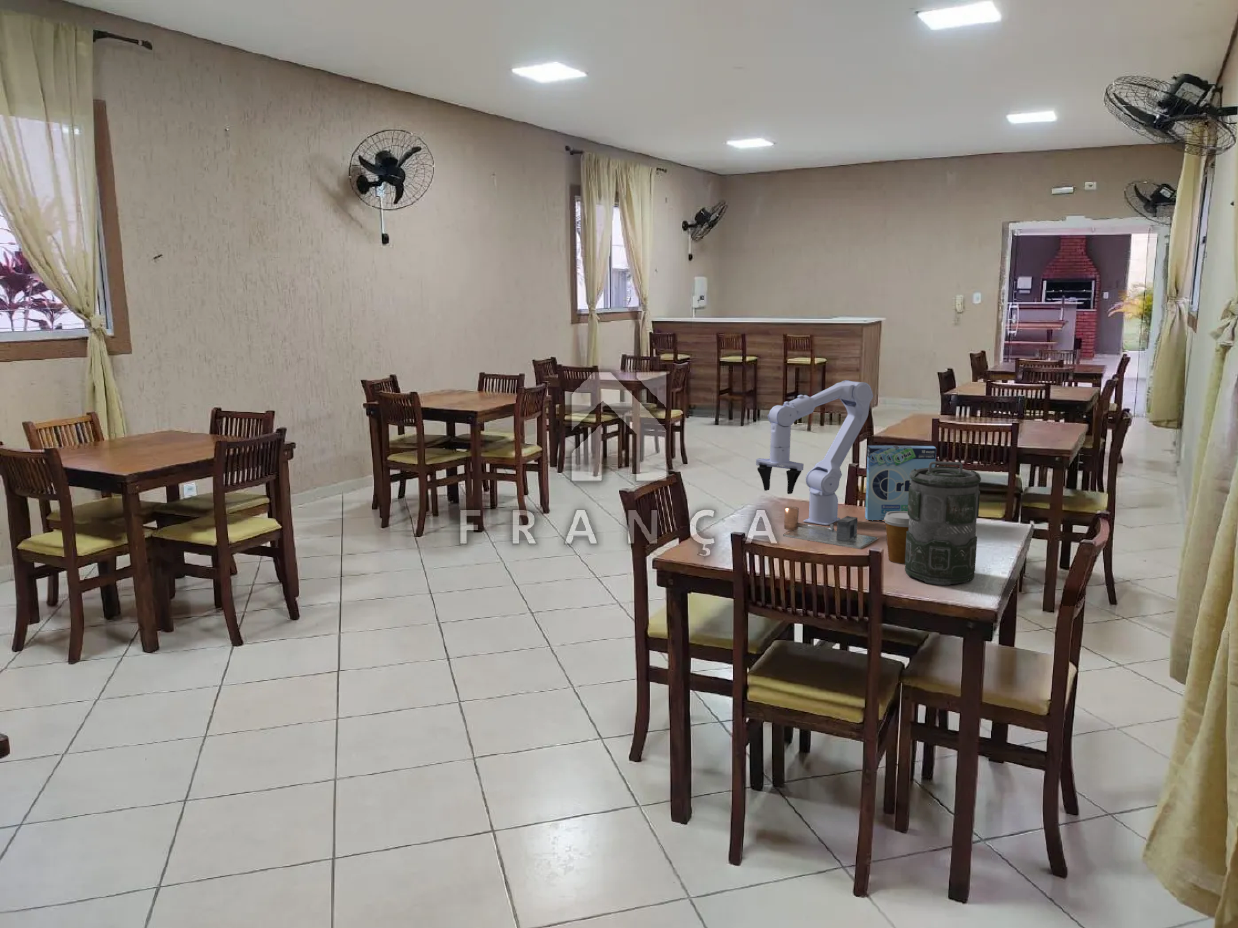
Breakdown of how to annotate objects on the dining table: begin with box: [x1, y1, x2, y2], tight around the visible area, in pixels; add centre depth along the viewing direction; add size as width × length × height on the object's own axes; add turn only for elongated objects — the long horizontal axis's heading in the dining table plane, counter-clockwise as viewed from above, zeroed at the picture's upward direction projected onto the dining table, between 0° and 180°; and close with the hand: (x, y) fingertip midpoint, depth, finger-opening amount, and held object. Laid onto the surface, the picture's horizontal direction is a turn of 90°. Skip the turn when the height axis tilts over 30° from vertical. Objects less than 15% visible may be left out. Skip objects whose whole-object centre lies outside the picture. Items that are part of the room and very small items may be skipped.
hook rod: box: [783, 506, 835, 532], centre depth 244 cm, size 15×4×6 cm, turn 52°
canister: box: [904, 461, 982, 586], centre depth 203 cm, size 16×16×28 cm
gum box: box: [864, 444, 937, 522], centre depth 259 cm, size 19×5×23 cm, turn 82°
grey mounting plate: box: [782, 515, 878, 550], centre depth 241 cm, size 12×23×6 cm, turn 52°
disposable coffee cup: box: [884, 511, 909, 565], centre depth 218 cm, size 10×10×12 cm
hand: (778, 491), depth 253 cm, fingers open, 7 cm apart
